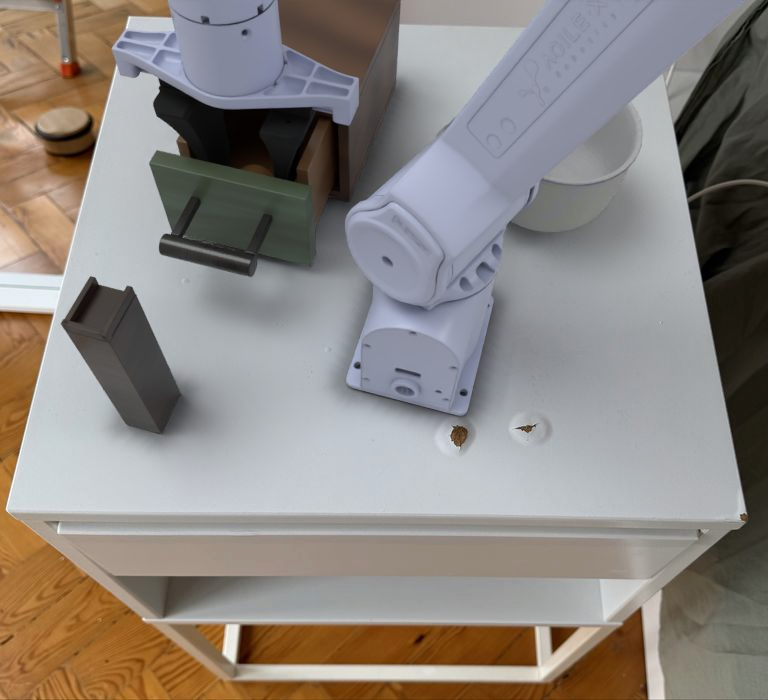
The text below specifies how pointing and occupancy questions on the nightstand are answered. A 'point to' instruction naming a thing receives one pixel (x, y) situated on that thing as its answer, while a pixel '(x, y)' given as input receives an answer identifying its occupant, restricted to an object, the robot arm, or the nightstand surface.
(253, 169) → the ball
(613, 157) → the teacup
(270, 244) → the drawer
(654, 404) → the nightstand surface
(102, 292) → the stand
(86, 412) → the nightstand surface
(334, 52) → the cabinet
